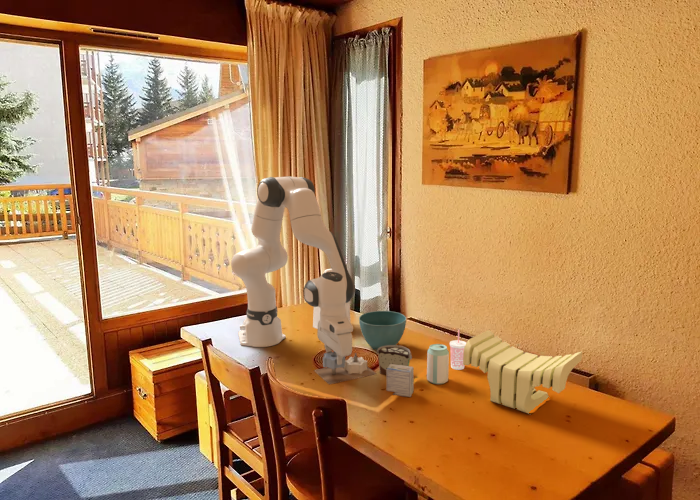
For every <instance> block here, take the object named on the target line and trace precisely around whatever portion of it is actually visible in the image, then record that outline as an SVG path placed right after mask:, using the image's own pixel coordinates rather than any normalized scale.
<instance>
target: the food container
mask: <svg viewBox="0 0 700 500" xmlns="http://www.w3.org/2000/svg"><path fill="white" fill-rule="evenodd" d="M376 355H378V357H377V358H378V365H379V374H381V375H385V376H387V368H388V367H389V365H390V364H394V365H403V366H410V361H411V360H412V358H413V356H412V351H411V350H410V349H409V348H407V347H406V346H403V345H398V344H397V345H387V346H382V347H380V348H378V350H376Z"/></svg>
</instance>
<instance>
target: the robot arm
mask: <svg viewBox="0 0 700 500" xmlns="http://www.w3.org/2000/svg"><path fill="white" fill-rule="evenodd" d="M256 192H257V193H256V194H257V200H256V204H255V208H254V212H253V218H252V222H251V223H252V224H251V229H250V230H251V234H252V235H253V236H254V237H255V238H256V239H257V246H255V247H251V248H245V249H243V250H240V251H238V252H237V253H234V254H233V256H232V258H231V261H230V266H231V270H232V272H233V274H235V276H237V277H238V278H239V279H241V281H242V282H243V284H244V286H245V290H246V294H247V295H246V296H247V309H246V317H245V319H244V320H243V322H242V324H239V331H238V333H237V335H238V340H239V343H240V344H239V345H240V346H248V347H253V348H266V347H271V346H275V345H278V344H280V342H282V341H283V340H284V339H286V334H284V333H283V328H282V320H281V318H280V317H279V316H278V307H277V301H276V300H277V299H276V288H275V286H273V285H272V284H271V283H269V282H268V281H267V278H266V274H268V273H273V272H275V271H278V270H280V269H282V268H283V267H285V266H286V265H287V263H288V258H289V257H288V252H287V250H286V249H285V247H284V246H283V245H282V242H281V232H282V231H281V230H282V224H283V219H284V213H285V209H287V210H288V213H289V220H290V221H289V222H290V226H291V231H292V233H293V237H294V238H296V240H297V241H299V242H300V243H302V244H303V245H307V246H310V247H313V248H317V249H318V250H321V251H323V253H324V254H325V256H326V257H327V259H328V263H329V265H330V269H332V271H333V272H326V273H324V272H323V273H322V274H321V275H320V276H319V277H317V278H313V279H309V280H307V282H305V284H304V287H303V298H304V301H305V302H306V303H307V304H308V305H309V306H311V307H313V308H314V307H320V309H321V310H320V321H319V322H318V329H317V334H316V335H317V339H318V340H319V341H320V342H322V343H323V344H324V349H325V353H332V352H334V351H335V352H336V355H337V358H336V364H338V365H340V364H342V359H343V357H345V358H346V357H348V356H349V357H350V356H351V355H352V353H353V335H352V332H353V331H354V326H353V324H352V322H351V323H350V321H351V320H350V321H349V320H348V317H347V316H346V308H345V303H348V302H349V303H350V302H351V300H352V299H353V297H354V295H355V293H356V286H355V285H356V284H355V282H354V280H353V278H352V276H351V274H350V273H349V271H348V267H347V264H346V261H345V259H344V256H343V255H342V251H341V249H340V245H339V243H338V240H337V238H336V236H335V234H334V233H333V232H332V231H331V230H329V229H328V228H327V226H326V224H325V223H324V221H323V216H322V212H321V208H320V206H319V201H318V200H317V197H316V190H315V185H314V183H313V181H312V180H311V179H308V178H306V177H303V176H300V177H299V176H298V177H297V176H289V175H288V176H276V177H274V176H270V177H265V178H263V179H261V180H260V181H259V183H258V185H257V190H256Z"/></svg>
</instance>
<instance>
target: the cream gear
mask: <svg viewBox="0 0 700 500" xmlns="http://www.w3.org/2000/svg"><path fill="white" fill-rule="evenodd" d="M367 367H368V360H365V359H364V357H362V356H360V357H358V362H354V356H353V357H352V356H349V357H348V359H345V367H344V370H347V371H348V373H349V374H351V373H359V374H362V372H363V371H365V370H367Z"/></svg>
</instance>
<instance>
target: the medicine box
mask: <svg viewBox="0 0 700 500" xmlns="http://www.w3.org/2000/svg"><path fill="white" fill-rule="evenodd" d="M386 391H387V392H393V393H392V395H393V396H400V397H407V398H408V397H409V398H412V394H413V393H414V366H412V365H411V366H410V365H409V366H403V365H394V364H390V365H389V367H388V368H387V375H386Z"/></svg>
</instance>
